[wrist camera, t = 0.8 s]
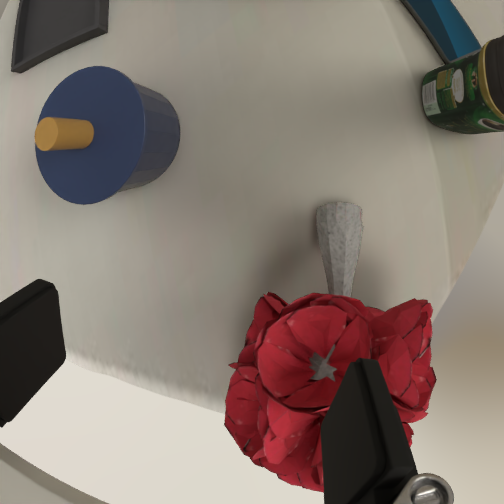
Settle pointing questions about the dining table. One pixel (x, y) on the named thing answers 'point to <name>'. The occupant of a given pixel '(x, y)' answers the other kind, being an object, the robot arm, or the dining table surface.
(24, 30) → the tray
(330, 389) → the bouquet
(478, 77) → the coffee jar
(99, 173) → the tin lid
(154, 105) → the tin
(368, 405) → the robot arm
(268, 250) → the dining table surface
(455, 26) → the smartphone
